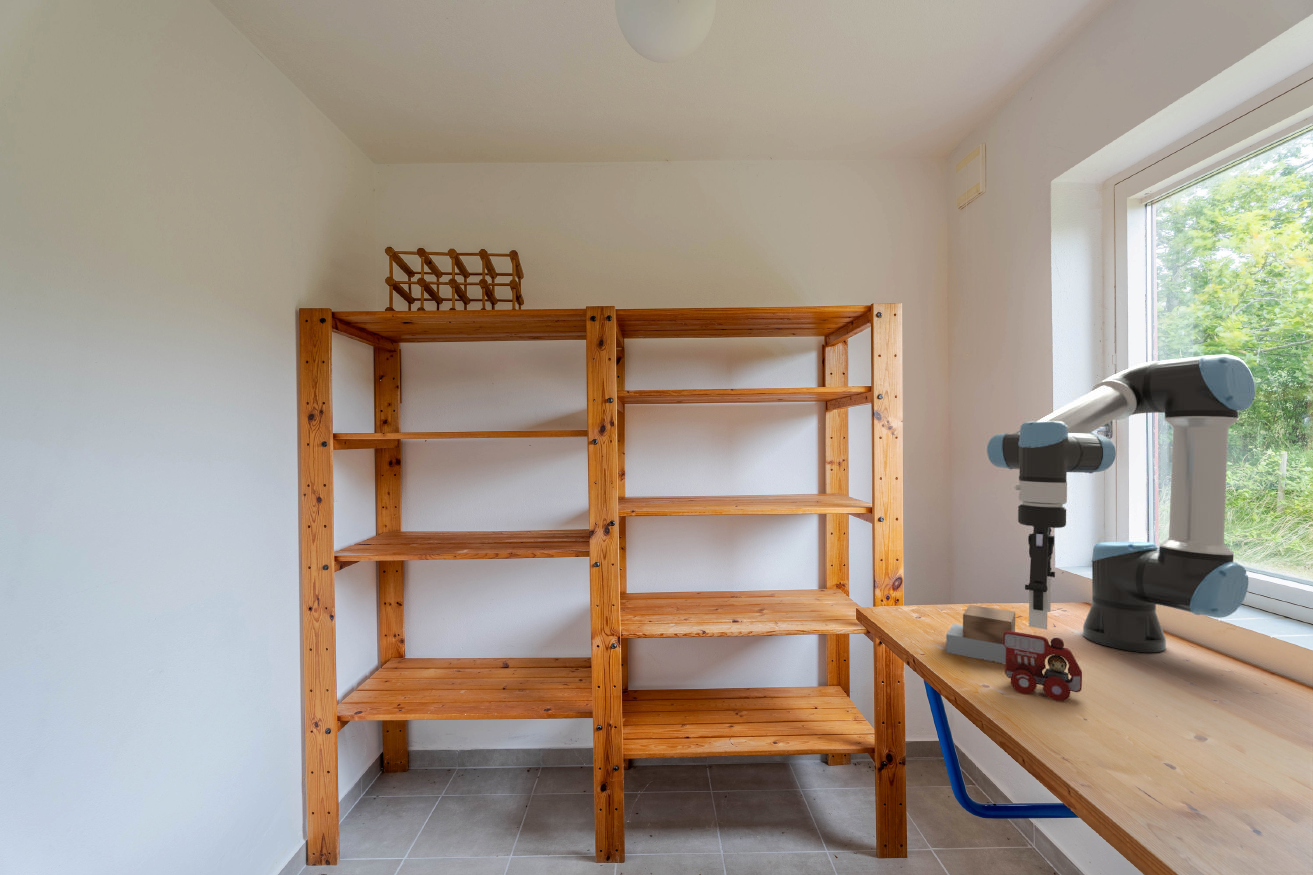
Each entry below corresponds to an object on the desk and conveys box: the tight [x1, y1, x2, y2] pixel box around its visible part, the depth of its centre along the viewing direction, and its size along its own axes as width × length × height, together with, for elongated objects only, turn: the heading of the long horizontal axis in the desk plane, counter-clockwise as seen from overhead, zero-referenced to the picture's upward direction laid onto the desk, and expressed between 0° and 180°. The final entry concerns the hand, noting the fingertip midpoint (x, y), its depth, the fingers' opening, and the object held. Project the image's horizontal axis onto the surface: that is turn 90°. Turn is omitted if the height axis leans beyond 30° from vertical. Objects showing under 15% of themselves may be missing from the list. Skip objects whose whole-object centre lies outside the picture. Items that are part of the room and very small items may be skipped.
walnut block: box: [962, 604, 1016, 645], centre depth 129 cm, size 9×9×5 cm
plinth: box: [945, 623, 1006, 665], centre depth 129 cm, size 16×9×4 cm, turn 54°
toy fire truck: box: [1003, 631, 1083, 702], centre depth 110 cm, size 7×12×10 cm, turn 56°
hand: (1040, 618), depth 110 cm, fingers open, 13 cm apart
